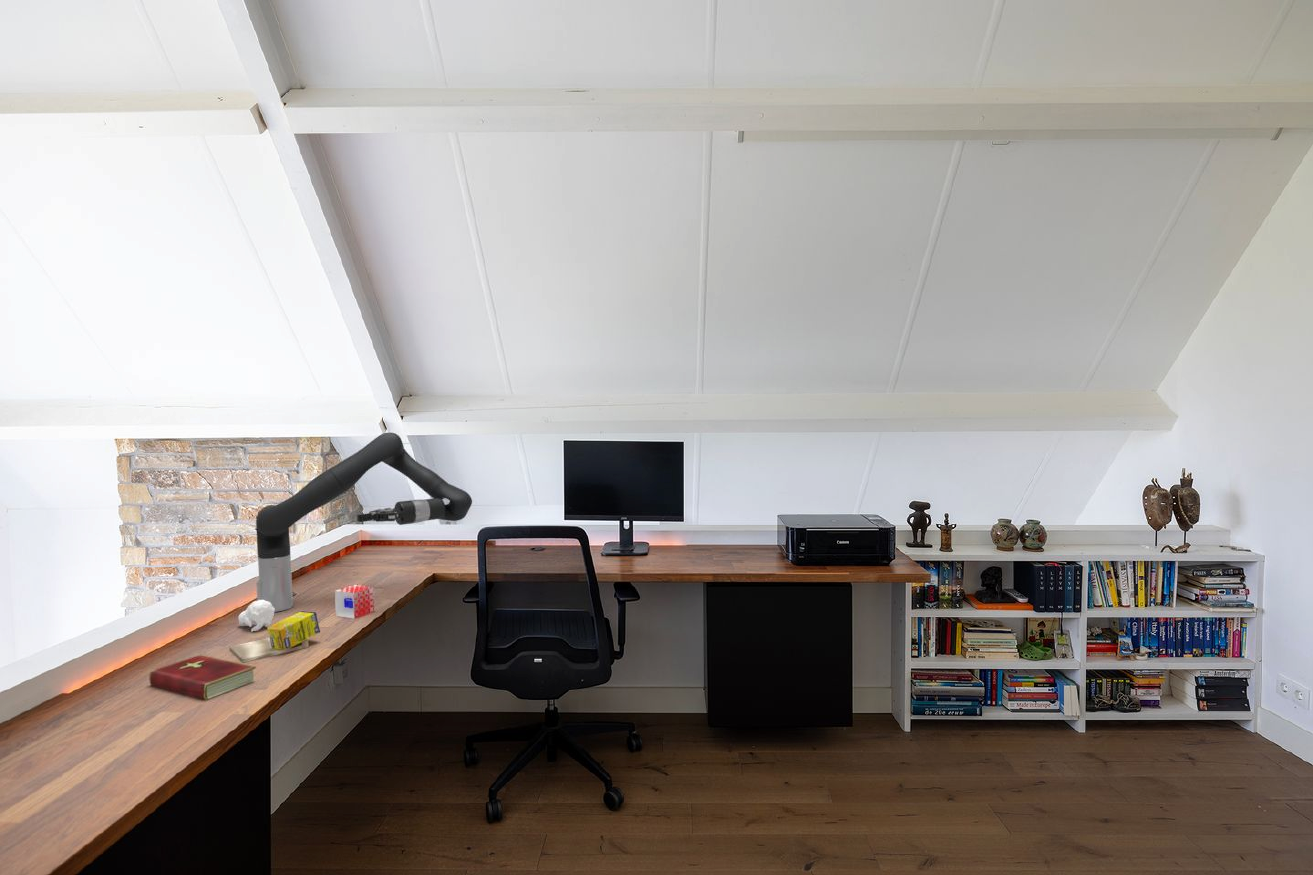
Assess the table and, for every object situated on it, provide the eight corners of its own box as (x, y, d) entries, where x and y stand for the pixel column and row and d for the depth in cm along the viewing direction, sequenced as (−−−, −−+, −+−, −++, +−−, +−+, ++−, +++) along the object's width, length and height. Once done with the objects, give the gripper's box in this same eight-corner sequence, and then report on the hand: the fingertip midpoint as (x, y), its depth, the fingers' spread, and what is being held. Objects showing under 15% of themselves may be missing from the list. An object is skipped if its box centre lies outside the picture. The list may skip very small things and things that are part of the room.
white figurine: (255, 603, 203) (229, 602, 209) (258, 632, 203) (232, 631, 209) (275, 597, 209) (249, 597, 214) (278, 626, 209) (252, 625, 215)
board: (243, 662, 180) (243, 655, 180) (229, 649, 191) (229, 642, 190) (308, 647, 191) (308, 640, 191) (292, 635, 201) (292, 629, 201)
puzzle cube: (374, 611, 224) (373, 586, 223) (354, 618, 217) (353, 593, 216) (356, 608, 227) (355, 584, 227) (335, 615, 220) (334, 590, 220)
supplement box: (321, 631, 195) (286, 650, 186) (306, 630, 198) (271, 648, 188) (316, 611, 194) (281, 629, 185) (301, 610, 197) (266, 627, 187)
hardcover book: (205, 702, 157) (204, 683, 157) (149, 687, 166) (148, 669, 166) (256, 682, 168) (255, 665, 168) (201, 669, 177) (200, 653, 177)
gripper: (403, 498, 236) (349, 504, 224) (420, 502, 226) (365, 508, 214) (404, 520, 236) (350, 527, 224) (421, 525, 226) (366, 533, 215)
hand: (358, 518), depth 219 cm, fingers closed
